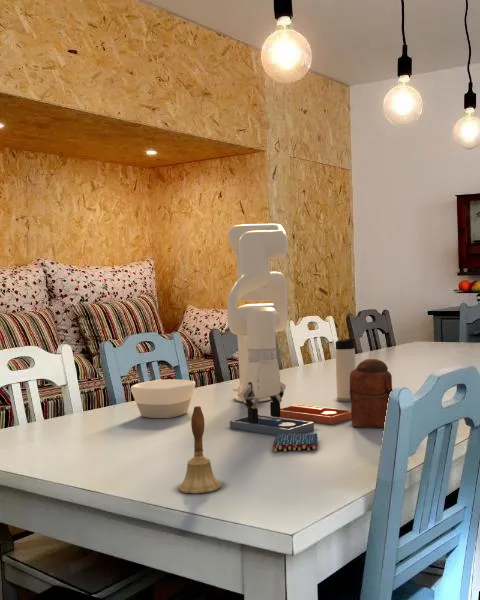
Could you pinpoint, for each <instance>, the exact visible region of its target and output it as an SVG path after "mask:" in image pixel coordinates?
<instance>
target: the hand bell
mask: <svg viewBox="0 0 480 600" xmlns="http://www.w3.org/2000/svg"><path fill="white" fill-rule="evenodd" d="M190 425H191V426H190V428H191V432H192V435H193V441H194V442H193V443H194V446H193V447H194V450H193V451H194V452H193V457H192V458H191V459H188V461H187V463H186V466H187V467H186V473H185V476H184V479H183V481H182V482H181V483H180V484H179V486H178V491H180V492H181V493H184V494H205V493H210V492H214V491H216V490H219V489H220V488H222V483H221V482H220V481H219V480H218V479H217V478H216V476H215V475H214V471H213V469H212V465H211V460H210V459H209V458H208V457H205V456H204V453H203V452H204V448H203V447H204V446H203V436H204V432H205V417H204V414H203V411H202V407H201V406H199V405H198V406H197V405H196V406H194V407H193V412H192V414H191V419H190Z"/></svg>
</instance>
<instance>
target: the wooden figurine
mask: <svg viewBox="0 0 480 600" xmlns="http://www.w3.org/2000/svg"><path fill="white" fill-rule="evenodd" d="M392 377H393V376H392V374H391V372H390V371H389V368H388V365H387V364H386V363H385V362H384V361H382V360H381V359H377V358H366V359H364V360H362V361H360V362H359V363H358V365H356V369H354V370H352V371H351V373H350V399H351V401H350V403H351V406H350V407H351V408H350V409H351V410H350V411H351V414H352V419H351V426H353V427H357V428H378V429H379V428H383V429H385V428H384V422H385V416H386V410H387V403H388V398H389V394H390V392H391V391H392V392H393V380H392V379H393V378H392Z"/></svg>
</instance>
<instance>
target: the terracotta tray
mask: <svg viewBox="0 0 480 600" xmlns="http://www.w3.org/2000/svg"><path fill="white" fill-rule="evenodd" d="M293 405H294V404H291V405H288V406H284V407H280V415H281V416H280V417H279V418H285V419H292V420H300V421H307V422H314V423H318V424H325V425H326V424H327V425H335V424H338V423H342V422H346V421H348V420H352V414H351V410H350V409H349V410H348V409H341V408H332V407H325V406H324V407H323V406H316V405H307V404H300V403H297V404H295V405H298V406H307V407H315V408H323V409H324V411H335V412H337V415H336V416H332V417H330V416H322V415H315V414H307V413H299V412H291V406H293Z"/></svg>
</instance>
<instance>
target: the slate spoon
mask: <svg viewBox="0 0 480 600" xmlns="http://www.w3.org/2000/svg"><path fill="white" fill-rule="evenodd" d="M248 423H250V422H248ZM251 424H258V425H265V426H271V427H278V428H285V429H290V428H294V427H295V423H282V420H279V419H272V418H265V417H258V423H251Z"/></svg>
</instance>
